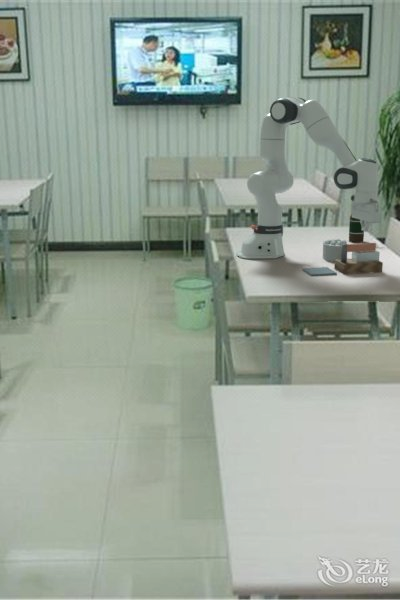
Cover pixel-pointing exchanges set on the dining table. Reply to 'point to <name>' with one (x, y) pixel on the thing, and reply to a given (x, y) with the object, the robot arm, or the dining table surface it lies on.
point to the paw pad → (332, 249)
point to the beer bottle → (355, 231)
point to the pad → (319, 271)
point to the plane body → (357, 266)
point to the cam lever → (356, 249)
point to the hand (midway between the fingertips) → (364, 231)
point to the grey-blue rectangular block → (365, 256)
